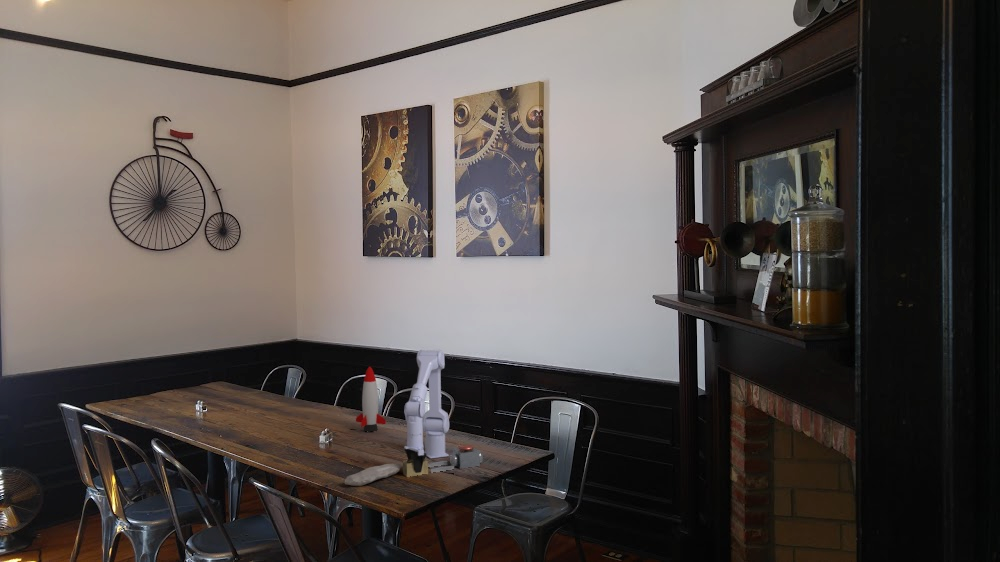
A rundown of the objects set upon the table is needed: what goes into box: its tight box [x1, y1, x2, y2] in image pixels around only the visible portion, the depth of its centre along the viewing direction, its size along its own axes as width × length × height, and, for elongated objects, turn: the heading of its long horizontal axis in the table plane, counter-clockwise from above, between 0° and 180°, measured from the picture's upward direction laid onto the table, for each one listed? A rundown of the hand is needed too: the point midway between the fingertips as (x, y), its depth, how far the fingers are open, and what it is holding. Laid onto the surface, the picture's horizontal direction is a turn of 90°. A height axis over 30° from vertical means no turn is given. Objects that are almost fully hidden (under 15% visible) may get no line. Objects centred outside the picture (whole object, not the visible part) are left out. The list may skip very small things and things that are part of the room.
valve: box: [428, 443, 484, 474], centre depth 265 cm, size 8×22×7 cm, turn 114°
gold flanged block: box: [402, 458, 429, 478], centre depth 257 cm, size 5×8×5 cm, turn 114°
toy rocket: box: [355, 366, 387, 433], centre depth 325 cm, size 11×11×30 cm
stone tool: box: [344, 462, 403, 487], centre depth 251 cm, size 12×5×25 cm
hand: (415, 470), depth 257 cm, fingers open, 6 cm apart
